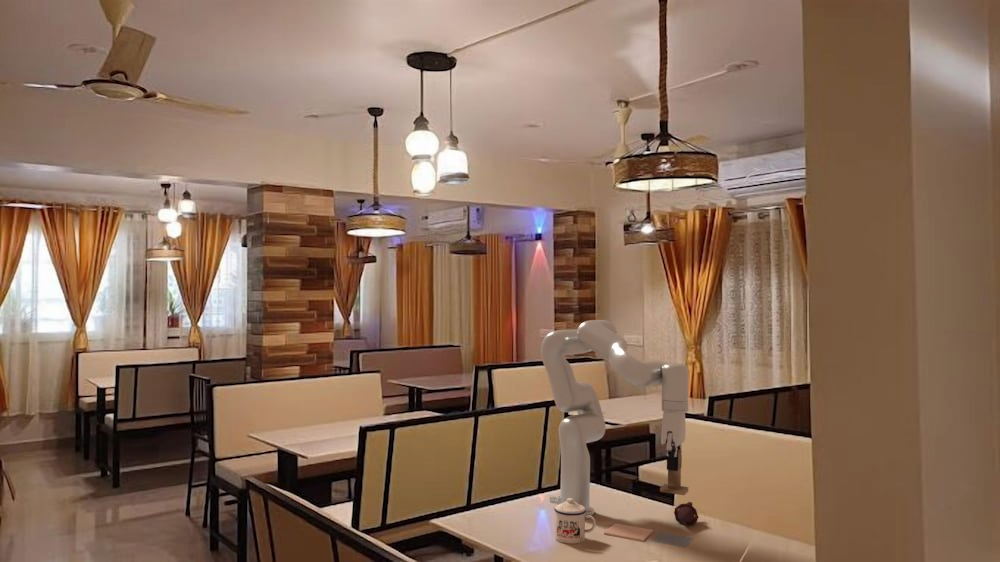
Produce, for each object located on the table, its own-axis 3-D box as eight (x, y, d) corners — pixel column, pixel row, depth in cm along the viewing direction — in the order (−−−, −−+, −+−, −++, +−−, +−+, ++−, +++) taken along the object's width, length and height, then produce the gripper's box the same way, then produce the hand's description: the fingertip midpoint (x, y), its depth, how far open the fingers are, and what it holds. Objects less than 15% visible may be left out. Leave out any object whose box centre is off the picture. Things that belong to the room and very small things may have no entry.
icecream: (698, 512, 216) (703, 504, 230) (674, 503, 218) (680, 495, 232) (692, 535, 216) (697, 524, 230) (668, 525, 218) (674, 516, 232)
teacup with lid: (552, 542, 206) (552, 501, 206) (556, 532, 215) (557, 493, 215) (594, 546, 203) (594, 505, 203) (596, 536, 212) (597, 496, 212)
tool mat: (651, 542, 208) (651, 540, 208) (660, 533, 215) (660, 532, 215) (686, 548, 203) (686, 547, 203) (693, 539, 211) (693, 538, 211)
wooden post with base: (659, 491, 209) (660, 449, 209) (664, 487, 213) (665, 446, 213) (684, 495, 205) (684, 452, 206) (688, 491, 210) (688, 449, 210)
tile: (614, 528, 221) (603, 537, 213) (614, 523, 221) (603, 532, 213) (653, 535, 216) (643, 544, 207) (653, 530, 216) (643, 539, 207)
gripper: (669, 401, 219) (668, 462, 218) (654, 408, 204) (653, 473, 204) (694, 403, 215) (693, 465, 215) (680, 410, 201) (679, 476, 200)
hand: (674, 468), depth 209 cm, fingers closed on wooden post with base, 3 cm apart
